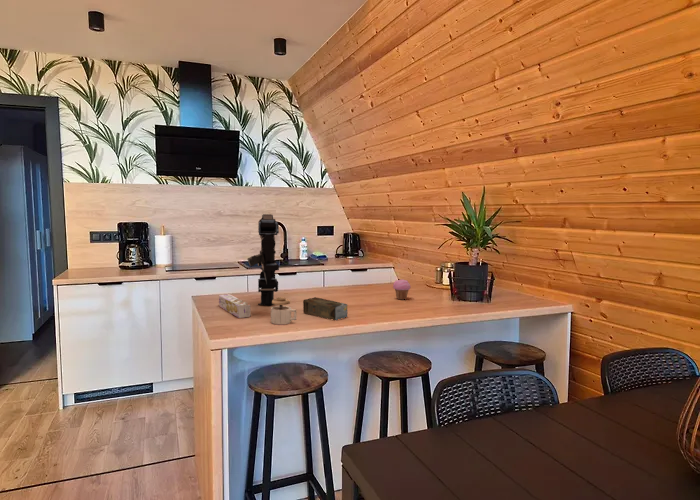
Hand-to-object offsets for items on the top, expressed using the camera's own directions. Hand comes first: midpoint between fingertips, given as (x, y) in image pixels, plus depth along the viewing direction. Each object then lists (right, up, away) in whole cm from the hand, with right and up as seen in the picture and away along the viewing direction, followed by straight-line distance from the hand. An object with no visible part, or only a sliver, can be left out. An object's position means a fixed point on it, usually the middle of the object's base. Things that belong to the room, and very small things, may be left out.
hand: (268, 284), depth 194 cm
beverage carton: (+25, -13, -2) cm, 28 cm away
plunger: (+8, -11, -16) cm, 21 cm away
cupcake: (+61, -10, +35) cm, 71 cm away
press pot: (+9, -14, -15) cm, 22 cm away
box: (-15, -12, +2) cm, 19 cm away
